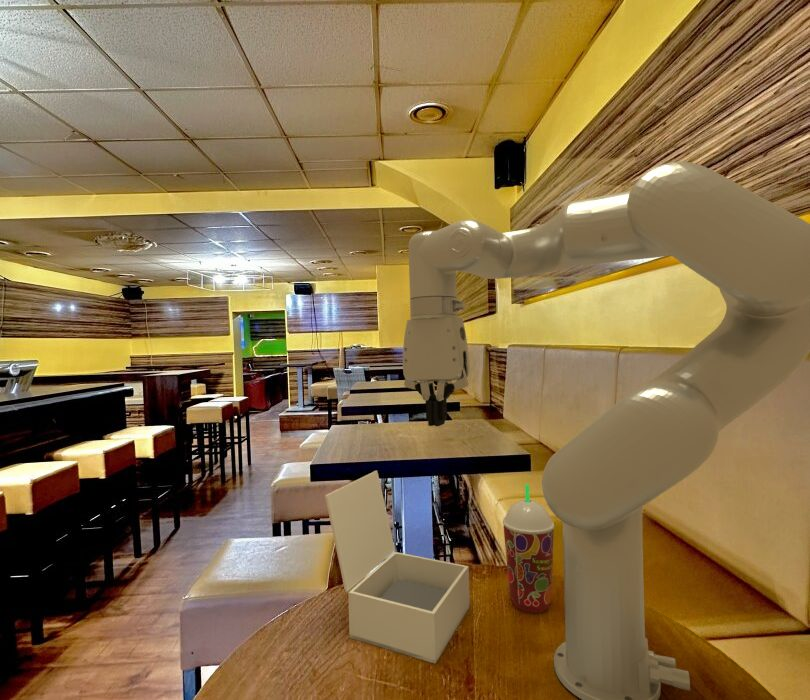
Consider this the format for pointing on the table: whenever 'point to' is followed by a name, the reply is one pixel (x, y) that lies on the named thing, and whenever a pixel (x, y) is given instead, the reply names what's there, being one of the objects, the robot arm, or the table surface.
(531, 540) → the smoothie
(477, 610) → the table surface
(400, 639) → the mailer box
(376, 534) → the lid
